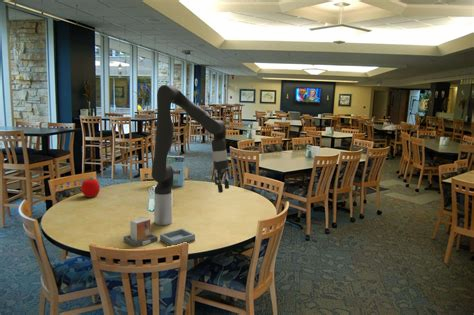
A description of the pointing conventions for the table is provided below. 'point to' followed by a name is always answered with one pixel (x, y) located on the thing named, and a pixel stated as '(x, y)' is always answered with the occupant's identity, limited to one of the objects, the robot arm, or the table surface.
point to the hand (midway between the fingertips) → (224, 190)
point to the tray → (177, 237)
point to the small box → (140, 229)
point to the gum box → (177, 169)
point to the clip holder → (141, 242)
